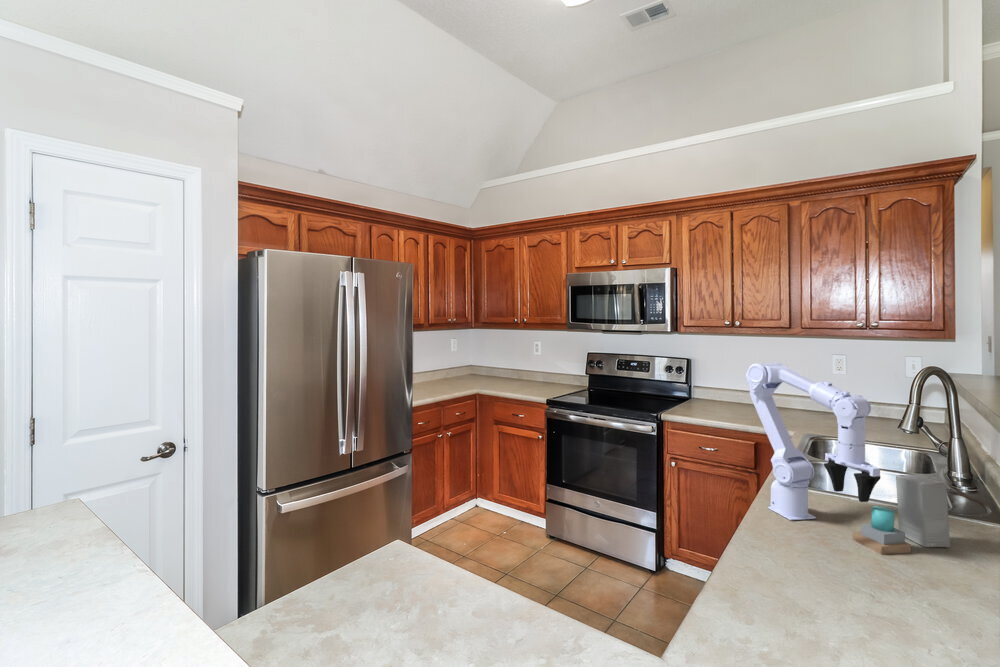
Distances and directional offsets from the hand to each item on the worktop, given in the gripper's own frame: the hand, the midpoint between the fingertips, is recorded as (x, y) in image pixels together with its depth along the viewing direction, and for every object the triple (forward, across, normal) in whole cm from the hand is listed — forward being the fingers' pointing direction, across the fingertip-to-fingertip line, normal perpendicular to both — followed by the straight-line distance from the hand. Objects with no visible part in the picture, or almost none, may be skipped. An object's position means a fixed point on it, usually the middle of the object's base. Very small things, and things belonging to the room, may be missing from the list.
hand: (850, 496), depth 126 cm
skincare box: (+11, +5, +16) cm, 19 cm away
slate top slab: (+9, +6, +3) cm, 11 cm away
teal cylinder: (+6, +6, +3) cm, 9 cm away
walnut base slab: (+11, +6, +3) cm, 13 cm away
